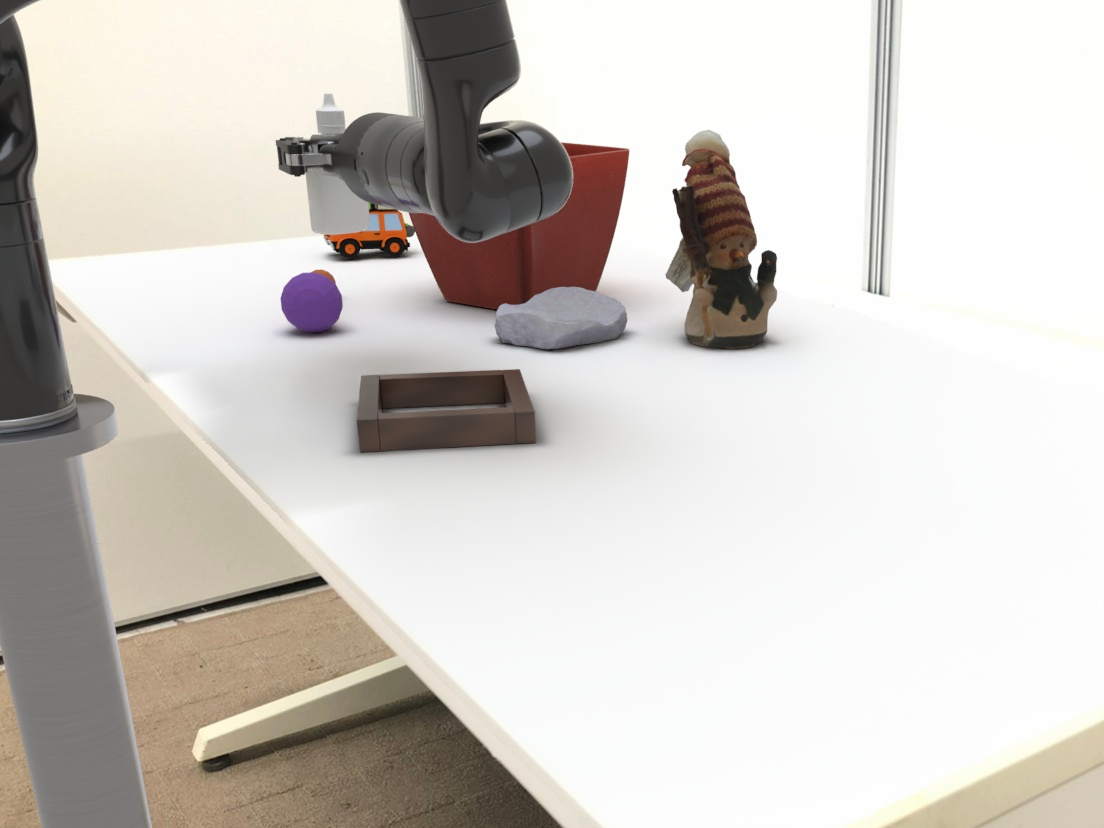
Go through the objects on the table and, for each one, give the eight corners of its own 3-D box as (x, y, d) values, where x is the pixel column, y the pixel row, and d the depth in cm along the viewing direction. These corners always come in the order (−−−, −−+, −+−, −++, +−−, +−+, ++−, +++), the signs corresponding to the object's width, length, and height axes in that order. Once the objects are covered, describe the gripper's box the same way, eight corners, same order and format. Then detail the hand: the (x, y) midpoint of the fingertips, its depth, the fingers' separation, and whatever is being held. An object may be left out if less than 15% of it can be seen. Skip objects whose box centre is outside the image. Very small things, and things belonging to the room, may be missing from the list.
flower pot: (529, 325, 134) (522, 160, 128) (399, 303, 143) (386, 147, 137) (635, 297, 149) (634, 147, 143) (512, 278, 158) (505, 137, 152)
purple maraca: (350, 262, 144) (344, 280, 126) (345, 314, 146) (338, 340, 127) (295, 253, 142) (281, 270, 124) (290, 306, 144) (275, 331, 126)
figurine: (632, 345, 127) (629, 135, 119) (671, 320, 138) (671, 127, 130) (762, 356, 124) (768, 141, 116) (791, 330, 135) (798, 132, 127)
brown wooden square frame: (359, 452, 94) (356, 419, 93) (363, 404, 105) (360, 375, 104) (536, 442, 97) (534, 411, 96) (521, 397, 108) (519, 368, 107)
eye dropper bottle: (305, 230, 117) (290, 92, 113) (365, 226, 120) (353, 92, 116) (316, 236, 114) (301, 94, 109) (378, 233, 117) (366, 94, 112)
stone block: (634, 348, 133) (559, 317, 136) (640, 305, 130) (563, 275, 134) (565, 376, 123) (486, 342, 127) (570, 330, 121) (489, 297, 125)
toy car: (423, 256, 172) (418, 189, 169) (334, 262, 166) (327, 192, 163) (408, 248, 177) (403, 183, 174) (321, 254, 172) (314, 186, 168)
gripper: (478, 113, 107) (392, 103, 119) (311, 117, 98) (237, 106, 111) (483, 204, 110) (399, 186, 122) (322, 216, 101) (249, 194, 113)
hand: (322, 148), depth 116 cm, fingers closed on eye dropper bottle, 5 cm apart
